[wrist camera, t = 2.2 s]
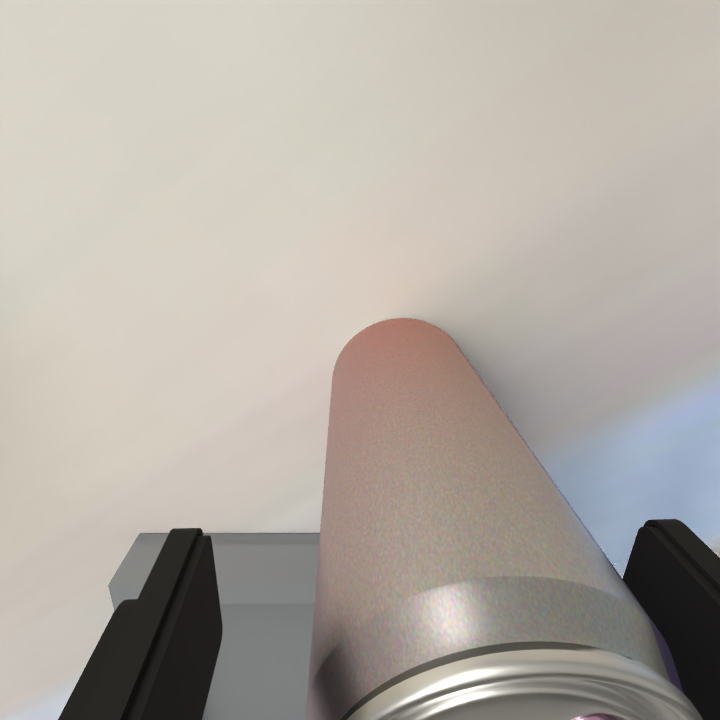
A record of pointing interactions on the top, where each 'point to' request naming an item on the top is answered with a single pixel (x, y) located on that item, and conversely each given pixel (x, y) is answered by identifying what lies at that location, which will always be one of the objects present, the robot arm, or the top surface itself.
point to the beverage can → (462, 561)
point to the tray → (250, 619)
